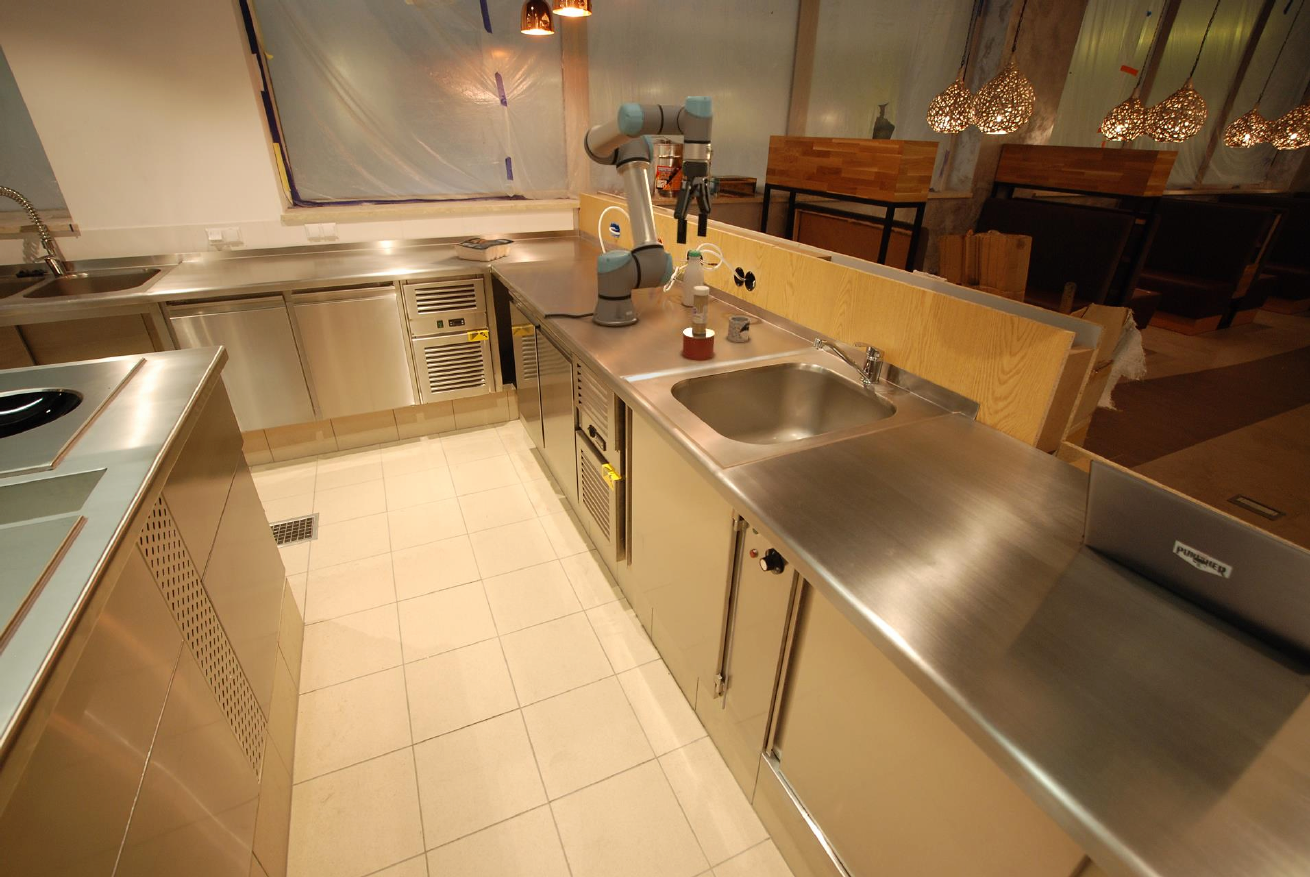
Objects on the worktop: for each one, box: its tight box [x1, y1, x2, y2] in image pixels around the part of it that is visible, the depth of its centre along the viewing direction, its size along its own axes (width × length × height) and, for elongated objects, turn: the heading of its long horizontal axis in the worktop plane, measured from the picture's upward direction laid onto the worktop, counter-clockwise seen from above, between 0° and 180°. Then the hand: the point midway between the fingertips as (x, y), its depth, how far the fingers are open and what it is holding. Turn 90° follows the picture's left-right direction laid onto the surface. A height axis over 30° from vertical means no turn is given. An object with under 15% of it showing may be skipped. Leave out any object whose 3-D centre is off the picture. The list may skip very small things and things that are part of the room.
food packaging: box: [448, 237, 516, 262], centre depth 294 cm, size 25×8×23 cm
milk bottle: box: [682, 250, 705, 307], centre depth 219 cm, size 8×8×20 cm
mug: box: [727, 315, 751, 343], centre depth 187 cm, size 10×7×7 cm, turn 148°
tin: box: [682, 327, 716, 361], centre depth 172 cm, size 9×9×7 cm
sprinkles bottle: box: [691, 285, 710, 334], centre depth 167 cm, size 5×5×14 cm
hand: (691, 240), depth 170 cm, fingers open, 13 cm apart
